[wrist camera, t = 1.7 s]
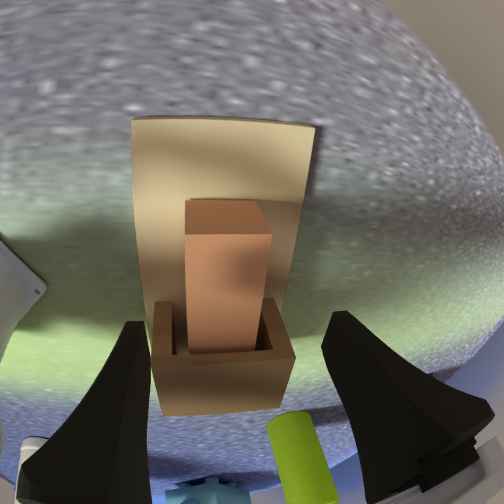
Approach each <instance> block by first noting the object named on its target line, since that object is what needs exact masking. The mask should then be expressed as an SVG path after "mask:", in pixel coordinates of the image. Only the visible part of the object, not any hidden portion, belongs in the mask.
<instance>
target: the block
mask: <svg viewBox="0 0 504 504" xmlns="http://www.w3.org/2000/svg"><path fill="white" fill-rule="evenodd" d="M271 241H272V232H271V230H270V228H269V226H268V224H267V222H266V220H265V218H264V216H263V214H262V212H261V210H260V208H259V206H258V204H257V202H256V201H236V200H185V281H186V309H187V330H188V348H189V355H191V354H216V353H234V352H249V351H254V350H255V344H256V338H257V332H258V326H259V319H260V313H261V307H262V300H263V294H264V287H265V281H266V274H267V268H268V261H269V254H270V248H271Z"/></svg>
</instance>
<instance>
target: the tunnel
mask: <svg viewBox="0 0 504 504" xmlns="http://www.w3.org/2000/svg"><path fill="white" fill-rule="evenodd" d="M295 359H296V356H295V354H294V351H293V348H292V345H291V343H290V340H289V337H288V335H287V332H286V329H285V326H284V324H283V321H282V318H281V316H280V313H279V310H278V307H277V305H276V302H275V299H274V298H264V299H263V300H262V307H261V313H260V319H259V326H258V332H257V338H256V344H255V350H254V351H249V352H234V353H216V354H191V355H177V351H176V341H175V331H174V320H173V308H172V301H163V302H155V306H154V319H153V333H152V351H151V369H152V373H153V378H154V382H155V386H156V391H157V395H158V399H159V403H160V407H161V410H162V414H163V416H185V415H209V414H224V413H236V412H247V411H256V410H265V409H273V408H280V405H281V402H282V399H283V396H284V393H285V390H286V387H287V384H288V381H289V378H290V375H291V372H292V368H293V365H294V362H295Z"/></svg>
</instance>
